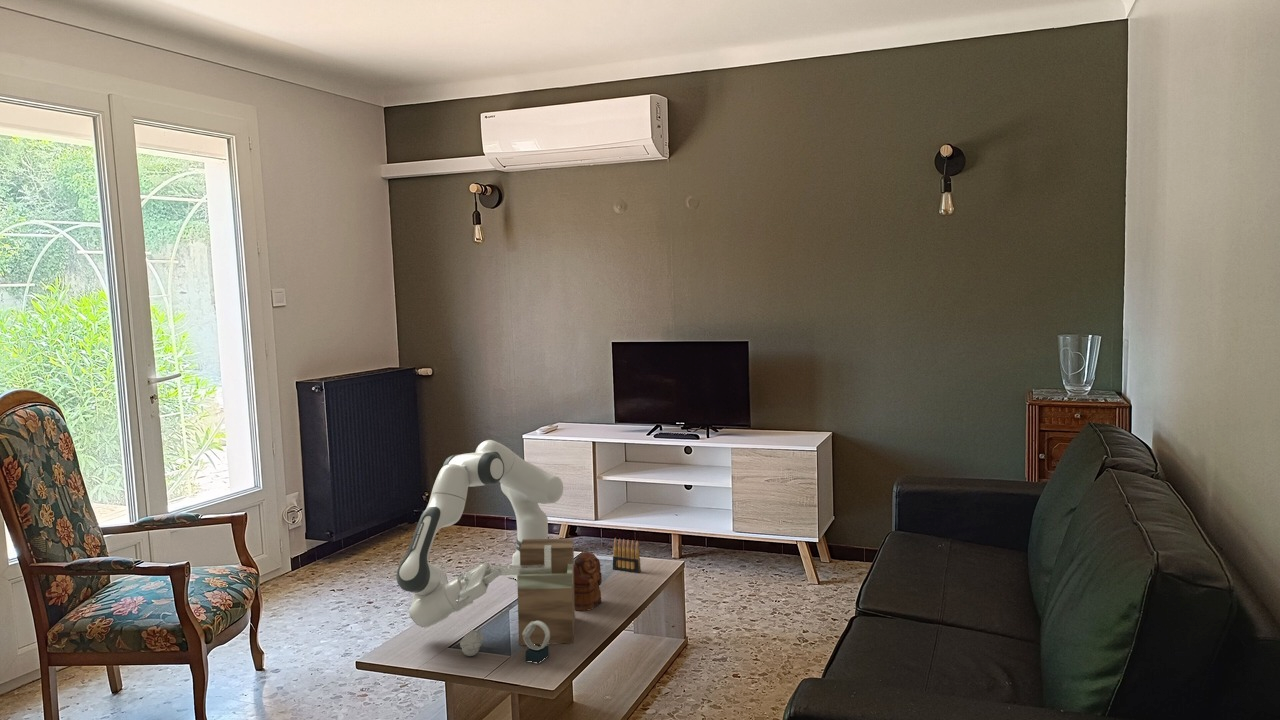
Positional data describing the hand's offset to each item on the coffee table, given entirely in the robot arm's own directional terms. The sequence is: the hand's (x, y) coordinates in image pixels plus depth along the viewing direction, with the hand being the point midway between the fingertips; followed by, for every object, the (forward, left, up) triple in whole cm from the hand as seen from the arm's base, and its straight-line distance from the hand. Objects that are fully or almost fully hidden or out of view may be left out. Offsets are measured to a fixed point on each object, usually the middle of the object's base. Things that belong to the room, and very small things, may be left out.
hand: (500, 569), depth 263 cm
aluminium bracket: (0, +6, -1) cm, 6 cm away
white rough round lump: (+11, -8, -22) cm, 26 cm away
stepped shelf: (-5, +13, -22) cm, 26 cm away
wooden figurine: (-25, +25, -22) cm, 42 cm away
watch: (+15, +11, -22) cm, 29 cm away
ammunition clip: (-59, +39, -22) cm, 74 cm away
